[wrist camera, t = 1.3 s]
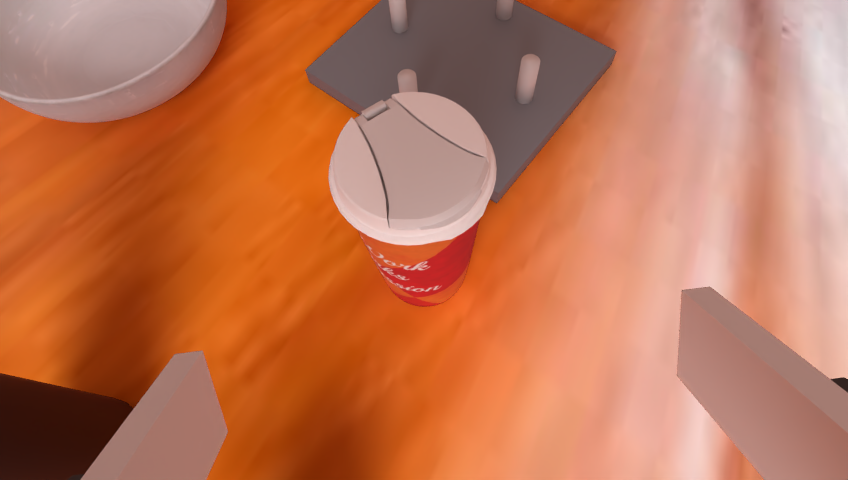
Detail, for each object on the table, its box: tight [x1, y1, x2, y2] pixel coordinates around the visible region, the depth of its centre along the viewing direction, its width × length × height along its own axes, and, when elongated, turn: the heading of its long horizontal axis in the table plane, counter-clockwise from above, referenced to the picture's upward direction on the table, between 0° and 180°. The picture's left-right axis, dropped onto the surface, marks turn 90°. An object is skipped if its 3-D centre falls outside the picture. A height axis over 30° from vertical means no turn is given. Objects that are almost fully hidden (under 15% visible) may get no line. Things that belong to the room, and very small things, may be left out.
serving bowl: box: [0, 0, 227, 123], centre depth 45 cm, size 21×21×7 cm
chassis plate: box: [305, 0, 616, 203], centre depth 42 cm, size 20×17×6 cm
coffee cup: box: [329, 92, 497, 307], centre depth 31 cm, size 8×8×15 cm
